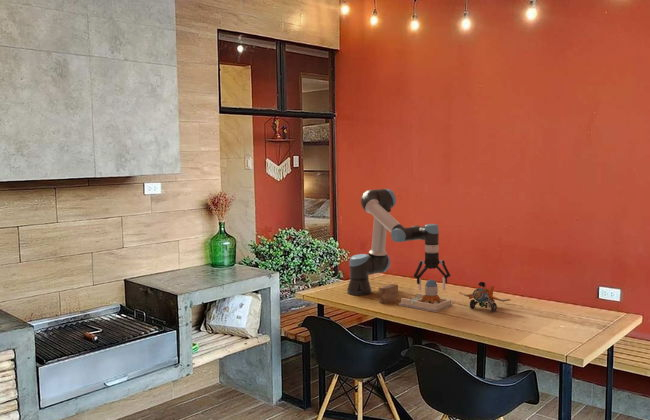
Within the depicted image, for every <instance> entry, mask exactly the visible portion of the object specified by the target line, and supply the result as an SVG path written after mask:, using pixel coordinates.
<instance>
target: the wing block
mask: <svg viewBox="0 0 650 420" xmlns="http://www.w3.org/2000/svg"><path fill="white" fill-rule="evenodd" d="M398 300H399V284H394V283H389V284H385V285H383V286H379V287H378V303H379V304H384V305H387V304H390V303H392V302H395V301H398Z"/></svg>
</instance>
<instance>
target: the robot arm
mask: <svg viewBox="0 0 650 420" xmlns="http://www.w3.org/2000/svg"><path fill="white" fill-rule="evenodd" d="M360 197H361V198H360V205H361V207H362V209H363V210H364V211H365V213H367V214H370V215H371V216H373V223H372V225H373V227H372V237H371V238H372V239H371V247H370V250H369V251H368V254H366V253H360V254H359V253H358V254H354V255H352V256H350V258H349V264H348V265H349V283H348V286H347V291H346V292H347V294H349V295H351V296H364V295H365V296H366V295H370V294H371V293H372V291H373V289H372V287H371V283H370V279H369V275H375V274H382V273H385V272H387V271H388V270H389V269H390V266H391V260H390V255H388V252H387V251H386V243H387V242H386V241H387V231H388V232H389V233H390V238H391V239H392V242H395V243H403V242H404V243H405V242H409V241H418V240H421V241H424V251H425V252H424V260H421V259H420V260H419V261H418V266H417V268H416V270H415V272H414V273H413V278H415V279H416V284H417V285H418V291H422V279H421V277H422V276H423V274H424V273H425V272H426V271H427V270H428V269H429V270H432V269H433V270H435V269H437V270H438V271H439V272H440V273H441V275H442V276H443V277H442V289H443V290H446V284H447V283H448V278H450V277H451V274H450V271H449V269H448V268H447V265H446V262H445V260H444V259H441V260H440V259H439V258H440V253H439V250H440V249H439V243H440V242H439V239H440V238H439V236H440V235H439V234H440V231H439V225H438V224H436V223H427V224H425V225H424V226H420V225H412V226H410V227H404V225H402V223H400V222H399V221H398V220H397V219H396V218H394V216H393V215H391V214H390V213H391V212H392V208H394V206H395V205H396V203H397V199H396V194H395V193H394V191H392V189H389V188H379V189H378V188H377V189H367V190H365V192H363V193H362V195H361V196H360ZM423 265H425V266H424V267H423ZM439 265H442V268H443V269H444V271H443V270H442V269H441V267H440V266H439ZM422 267H423V268H422ZM421 269H422V270H421ZM420 270H421V271H420Z"/></svg>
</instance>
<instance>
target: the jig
mask: <svg viewBox="0 0 650 420" xmlns="http://www.w3.org/2000/svg"><path fill="white" fill-rule="evenodd" d="M424 295H426V294H425V293H420V292H417V293H416V297H413V298H411V299H409V298H405V297H401V298H400V302H398V306H400V307H406V308H411V309H416V310H421V311H428V312H432V313H437V312H439V311H442V310H445V309H446V308H449V307H452V306H453V303H452V299H447V298H443V297H440V303H438V302H437V301H436V300H435V301H434V304H431V303H429V301H428V300H427V299H426V301H425V302H422V297H423V296H424Z"/></svg>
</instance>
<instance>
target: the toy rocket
mask: <svg viewBox="0 0 650 420" xmlns="http://www.w3.org/2000/svg"><path fill="white" fill-rule="evenodd" d="M424 285H425V287H424V294H426V295H424V296H423V297H422V302H425V301H426V299H427V300H428V301H429V303H431V304H434V301H435V300H436V301H437V302H438V303H440V298H441V297H440V296H439V295H438V294H439V293H438V290H439V289H438V288H439V287H438V284H437V281H435V280H434V279H428V280H427V281H426V283H425V284H424Z"/></svg>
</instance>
